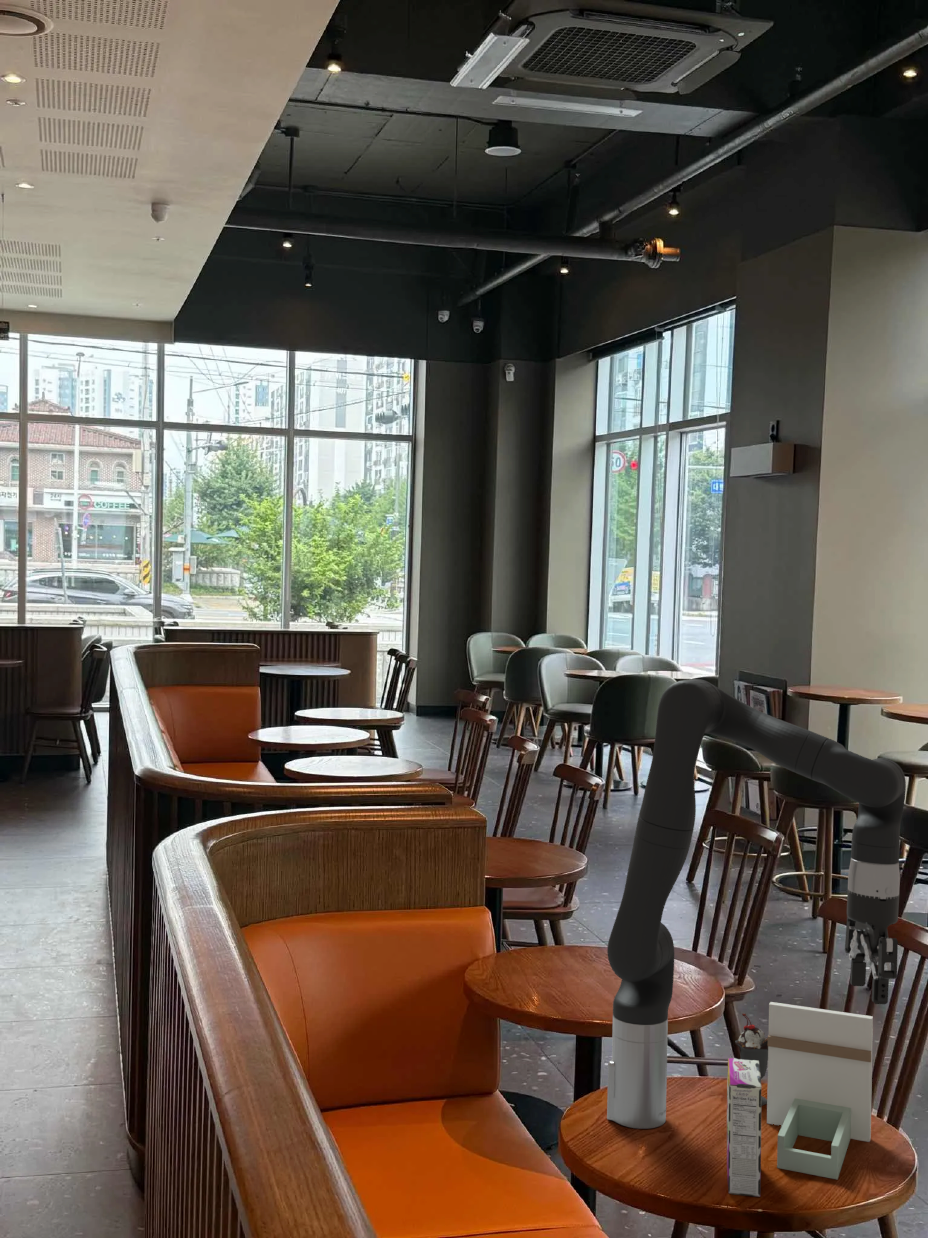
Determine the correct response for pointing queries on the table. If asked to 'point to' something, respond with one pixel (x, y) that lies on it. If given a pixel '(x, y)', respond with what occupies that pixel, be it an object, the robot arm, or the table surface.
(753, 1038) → the sundae
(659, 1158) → the table surface
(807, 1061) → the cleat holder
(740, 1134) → the candy bar box
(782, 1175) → the table surface
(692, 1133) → the table surface
